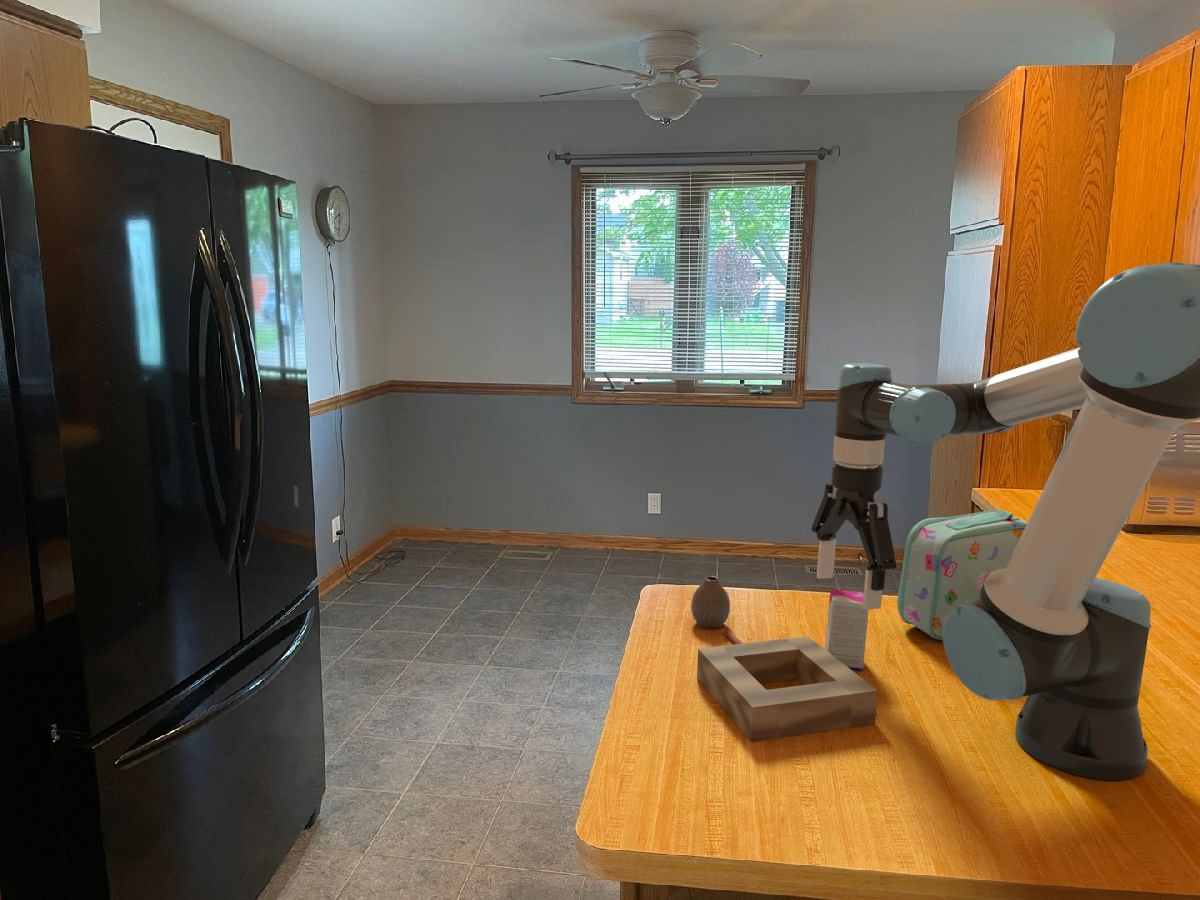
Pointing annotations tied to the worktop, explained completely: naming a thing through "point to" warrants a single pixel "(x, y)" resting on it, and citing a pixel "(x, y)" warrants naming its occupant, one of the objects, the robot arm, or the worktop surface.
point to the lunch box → (952, 564)
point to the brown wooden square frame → (783, 712)
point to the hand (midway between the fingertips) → (847, 592)
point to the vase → (710, 604)
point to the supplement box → (847, 628)
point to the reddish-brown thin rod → (732, 637)
